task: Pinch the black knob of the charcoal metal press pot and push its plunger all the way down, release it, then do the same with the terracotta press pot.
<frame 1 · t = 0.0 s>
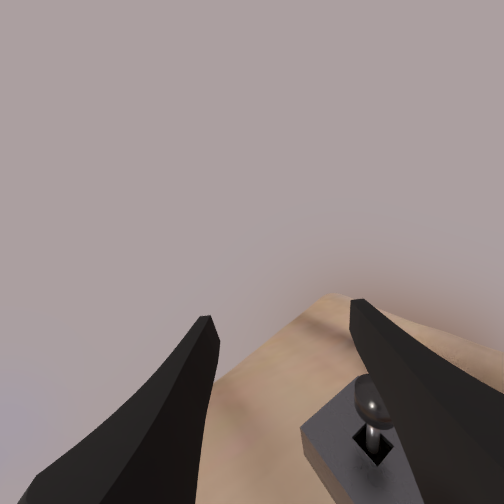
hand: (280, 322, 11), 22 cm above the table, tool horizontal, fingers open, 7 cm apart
pot a: (370, 470, 20), on the table
plunger a: (373, 421, 17), point 8 cm above the table, slide at 0.0 cm
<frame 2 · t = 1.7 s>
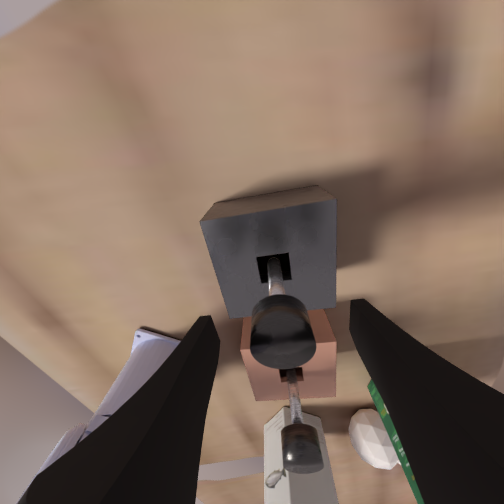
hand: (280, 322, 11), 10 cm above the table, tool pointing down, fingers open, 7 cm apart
plunger b: (295, 407, 19), point 8 cm above the table, slide at 0.0 cm
pot a: (271, 241, 20), on the table
pot b: (286, 335, 26), on the table
plunger a: (277, 294, 13), point 8 cm above the table, slide at 0.0 cm
supplement box: (291, 419, 36), on the table
coffee box: (384, 369, 28), on the table
ornament: (363, 410, 33), on the table
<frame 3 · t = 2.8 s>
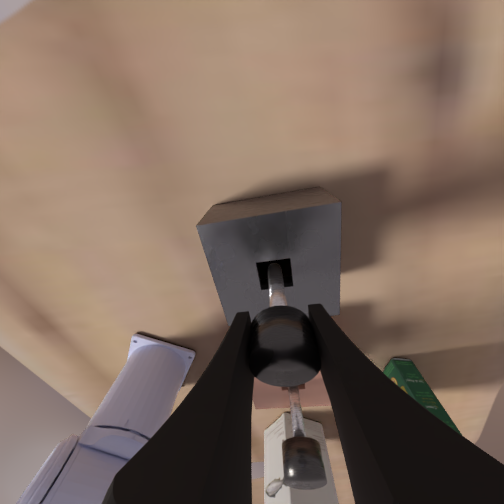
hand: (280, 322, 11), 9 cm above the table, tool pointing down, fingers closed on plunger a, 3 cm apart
plunger b: (297, 418, 18), point 8 cm above the table, slide at 0.0 cm
pot a: (271, 244, 19), on the table
pot b: (287, 340, 25), on the table
plunger a: (278, 303, 12), point 8 cm above the table, slide at 0.0 cm, touching gripper
supplement box: (291, 424, 35), on the table
coffee box: (387, 375, 28), on the table
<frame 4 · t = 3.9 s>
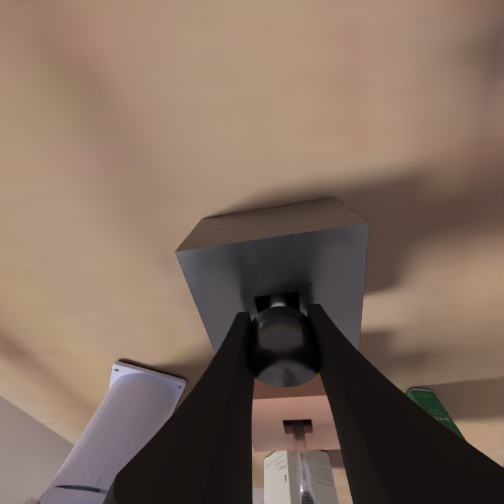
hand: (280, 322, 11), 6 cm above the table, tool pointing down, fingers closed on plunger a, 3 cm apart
plunger b: (304, 477, 15), point 8 cm above the table, slide at 0.0 cm
pot a: (273, 264, 16), on the table
pot b: (290, 369, 22), on the table
plunger a: (277, 304, 12), point 4 cm above the table, slide at 3.6 cm, touching gripper
supplement box: (294, 453, 32), on the table
coffee box: (403, 405, 24), on the table
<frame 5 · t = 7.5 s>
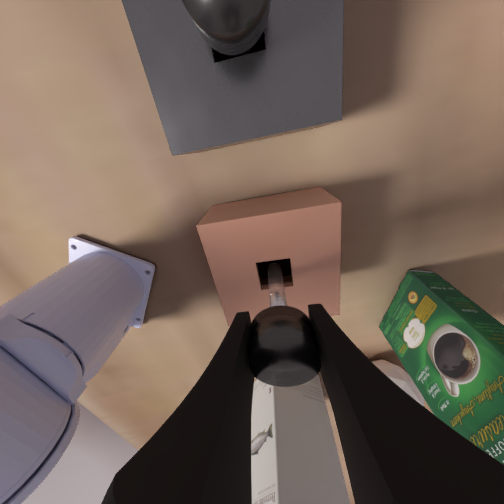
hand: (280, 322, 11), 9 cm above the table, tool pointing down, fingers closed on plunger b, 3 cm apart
plunger b: (278, 303, 12), point 8 cm above the table, slide at 0.0 cm, touching gripper
pot a: (243, 61, 13), on the table
pot b: (271, 244, 19), on the table
plunger a: (235, 26, 9), point 4 cm above the table, slide at 3.6 cm
supplement box: (282, 378, 29), on the table
coffee box: (401, 300, 22), on the table
ornament: (372, 364, 27), on the table
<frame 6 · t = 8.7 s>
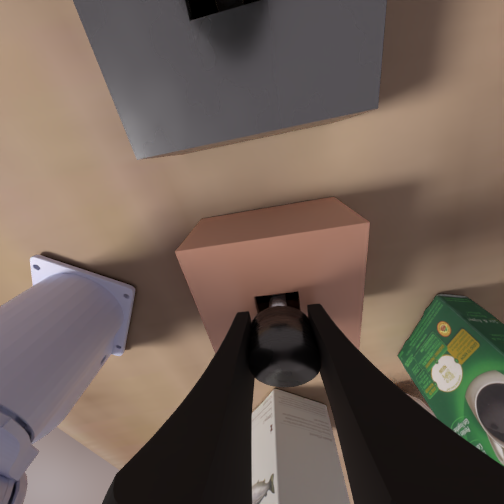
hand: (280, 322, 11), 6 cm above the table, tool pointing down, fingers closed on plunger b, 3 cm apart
plunger b: (277, 303, 12), point 4 cm above the table, slide at 3.6 cm, touching gripper
pot a: (237, 35, 10), on the table
pot b: (273, 264, 16), on the table
supplement box: (285, 407, 26), on the table
coffee box: (425, 327, 18), on the table
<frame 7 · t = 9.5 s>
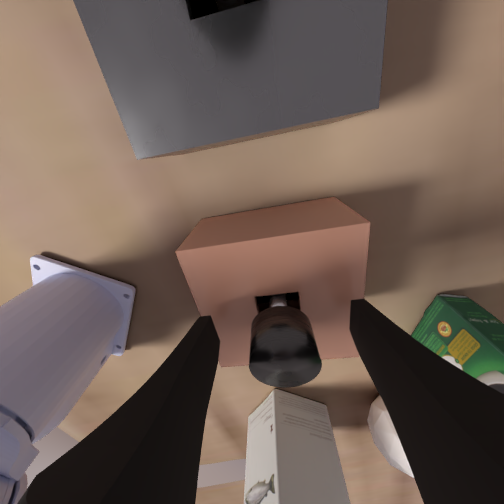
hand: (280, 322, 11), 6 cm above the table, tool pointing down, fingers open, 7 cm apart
plunger b: (278, 303, 12), point 4 cm above the table, slide at 3.6 cm
pot a: (237, 35, 10), on the table
pot b: (274, 264, 16), on the table
supplement box: (285, 407, 26), on the table
coffee box: (426, 327, 18), on the table
ornament: (387, 394, 23), on the table
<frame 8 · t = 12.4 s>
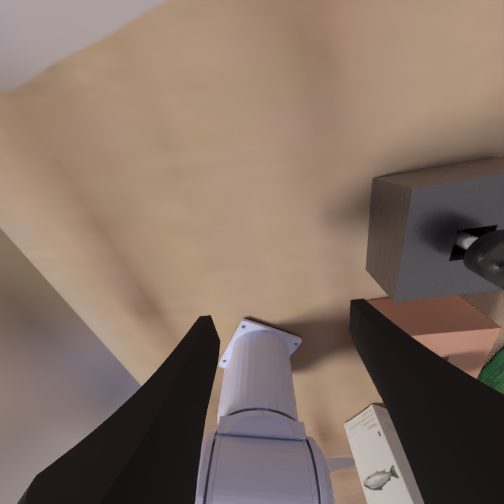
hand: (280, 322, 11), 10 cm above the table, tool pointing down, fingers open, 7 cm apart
pot a: (421, 220, 18), on the table
pot b: (401, 325, 24), on the table
plunger a: (464, 240, 14), point 4 cm above the table, slide at 3.6 cm
supplement box: (373, 417, 34), on the table
coffee box: (493, 363, 27), on the table
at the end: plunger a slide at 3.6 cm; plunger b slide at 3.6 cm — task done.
